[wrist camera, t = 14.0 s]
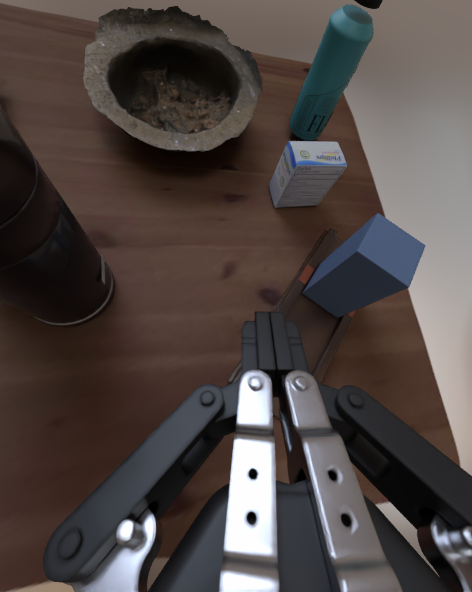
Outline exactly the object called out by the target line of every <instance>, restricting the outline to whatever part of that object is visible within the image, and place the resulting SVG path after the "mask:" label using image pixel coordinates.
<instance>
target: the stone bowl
mask: <svg viewBox="0 0 472 592" xmlns="http://www.w3.org/2000/svg"><path fill="white" fill-rule="evenodd" d="M95 38H96V40H95V41H94V42H93V43H92V44H88V45H87V47H86V49H85V61H84V63H85V70H84V75H83V81H84V84H85V88H87V90H88V94H89V97H90V98H91V99H92V101H93V105H94V107H95V108H96V110H97V111H99V112H100V113H102V114H104V115H107V116H108V118H109V119H111V120H112V121H113V122H114V123H115V124H116V125H118V126H119V127H121V128H123V129H124V130H125V131H126V132H127V133H128V134H130V135H131V136H133V137H136V138H138V139H140V140H142V141H144V142H146V143H148V144H151V145H153V146H155V147H158V148H160V149H163V150H165V151H169V152H174V153H178V152H182V151H203V152H204V151H206V150H211V149H213V148H215V147H217V146H219V145H221V144H222V143H223V142H224V141H226V140H228V139H230V138H233V137H238V136H239V135H240V134H241V133H242V132H243V130H244V129H245V128H246V126H247V125H248V123H249V122H250V121H251V119H252V117H253V115H254V109H255V107H256V105H257V101H258V95H259V94H260V93H261V92H262V78H261V76H260V72H259V71H258V68H257V63H256V61H255V59H254V58H253V57H252V55H251V52H249V51H246V52H245V51H244V50H243V49H241V48H240V47H238V46H234V45H231V43H230V42H228V38H227V35H225V34H224V32H223V31H222V30H220V29H219V28H217V27H215V26H212V25H211V24H210V22H209V21H208V20H201V18H200V15H198V16H192V15H190V14H188V13H186V12H182V11H181V9H180V8H178V6H174V7H169V8H168V9H166V10H165V11H164V10H163V9H162V10H152V9H151V8H149V9H148V10H147V11H146V12H145V11H144V9H133V8H130V7H128V8H127V9H119V10H115V9H114V10H112V11H110V12H109V13H107V14H105V15H103V16H101V17H99V29H98V30H96V31H95Z"/></svg>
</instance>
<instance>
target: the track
mask: <svg viewBox="0 0 472 592" xmlns="http://www.w3.org/2000/svg"><path fill="white" fill-rule="evenodd" d="M336 233H337V231H335V230H334V229H332V228H330V229H329V230H328V231H327V230H325V231H324V233H323V234H322V236H321V237H320V239H319V240H318V242H317V243H316V245H315V246H314V248H313V250H312V251H311V253H310V254H309V256H308V257H307V259H306V260H305V262H304V264H303V265H302V267H301V268H300V270H299V271H298V273H297V274H296V276H295V277H294V279H293V281H292V282H291V284H290V285H289V287H288V288H287V290H286V291H285V293H284V294H283V296H282V298H281V299H280V301H279V302H278V304H277V305H276V307H275V308H274V310H273V311H272V312H284V317H285V321H294V323H295V324H296V325H297V326H298V328H299V330H300V334H301V338H302V342H303V346H304V350H305V354H306V359H307V363H308V367H309V370H310V373H311V375H312V376H313V377H314V378H315V379H316V380H317V381H318V382H320V383H321V382H322V380H323V378H324V376H325V374H326V372H327V369H328V367H329V365H330V363H331V361H332V359H333V357H334V355H335V353H336V351H337V349H338V347H339V344H340V342H341V340H342V338H343V336H344V334H345V332H346V330H347V328H348V326H349V324H350V321H351V319H352V318H353V316H354V314H355V312H356V310H355V311H352V312H350V313H348V314H345V315H343V316H341V317H338V318H336V317H335V316H333V315H332V314H331V313H329V312H328V311H326V310H325V309H324V308H322V307H321V306H319V305H318V304H317V303H315V302H314V301H312V300H311V299H309V298H308V297H307V296H305V295H304V294H302V292H303V291H304V289H305V287H306V286H307V284H308V283H309V281H310V279H311V278H312V276H313V274H314V273H315V271H316V269H317V268H318V266H319V264H320V263H321V262H323V261H324V260H325V259H326V258H327V257H328V256H329V255H331V254H332V253H333V252H334V251H335V250H336V249H337V248H338V247H340V246H341V245H342V244H343V243H344V242H343V241H341V240H340V239H338V238H337V237H335V235H336ZM241 371H242V359H241V361H240V363H239V364H238V366H237V367H236V369H235V370H234V372H233V373H232V375H231V377H230V378H229V380H228V382H230V383H231V384H232V383H234V382H235V381H236V380H237V379H238V378H239V377H240V374H241ZM279 407H280V404H279V397H273V394H272V413H273V415H275V416H276V417H277V418H279V419H280V417H279Z"/></svg>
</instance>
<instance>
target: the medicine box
mask: <svg viewBox="0 0 472 592" xmlns="http://www.w3.org/2000/svg"><path fill="white" fill-rule="evenodd" d="M346 167H347V164H346V161H345V158H344V156H343V153H342V151H341V149H340V147H339V144H338V143H337V142H318V141H288V143H287V145H286V147H285V149H284V152H283V154H282V156H281V159H280V161H279V164H278V166H277V168H276V171H275V173H274V175H273V178H272V180H271V182H270V185H269V189H270V193H271V197H272V200H273V204H274V207H275V208H280V207H298V206H317V205H318V204H319V203H320V201H321V200H322V199H323V197H324V196H325V195H326V194H327V192H328V191H329V190H330V188H331V187H332V186H333V184H334V183H335V182H336V180H337V179H338V178H339V177H340V175H341V174H342V173H343V171H344V170H345V169H346Z"/></svg>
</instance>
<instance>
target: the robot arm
mask: <svg viewBox="0 0 472 592" xmlns="http://www.w3.org/2000/svg"><path fill="white" fill-rule="evenodd" d="M114 288H115V282H114V277H113V274H112V272H111V270H110V268H109V267H108V265H107V264H106V263H105V261H104V256H103V254H102V253H101V256H100V254H99V253H98V251H97V250H96V248H95V247H94V245H93V244H92V242H91V241H90V239H89V238H88V236H87V235H86V233H85V232H84V230H83V229H82V227H81V226H80V224H79V223H78V221H77V220H76V218H75V217H74V215H73V214H72V212H71V211H70V209H69V208H68V206H67V205H66V203H65V202H64V200H63V199H62V197H61V196H60V194H59V193H58V191H57V190H56V188H55V187H54V185H53V184H52V182H51V181H50V180H49V178H48V177H47V175H46V174H45V172H44V171H43V169H42V168H41V166H40V165H39V163H38V162H37V160H36V159H35V157H34V156H33V154H32V153H31V151H30V149H29V147H28V146H27V144H26V143H25V141H24V140H23V138H22V137H21V135H20V134H19V133H18V131H17V130H16V128H15V126H14V125H13V123H12V122H11V120H10V119H9V117H8V116H7V114H6V112H5V111H4V109H3V108H2V106H1V104H0V302H2V303H4V304H7V305H9V306H11V307H13V308H16V309H18V310H20V311H22V312H24V313H27V314H29V315H31V316H33V317H35V318H36V319H38V320H40V321H42V322H45V323H47V324H50V325H53V326H60V327H69V326H76V325H80V324H83V323H86V322H88V321H90V320H92V319H94V318H95V317H97V316H98V315H99V314H100V313H101V312H103V311H104V309H105V308H106V307H107V306H108V304H109V303H110V301H111V299H112V297H113V294H114ZM272 394H273V397H279V404H280V407H279V417H280V423H281V428H282V433H283V438H284V443H285V449H286V454H287V467H288V476H289V482H290V484H286V483H283V482H280V481H277V480H275V441H274V433H273V413H272ZM233 432H235V434H234V444H233V455H232V466H231V476H230V483H229V484H227V485H225V486H223V487H222V488H220V489H219V490H218V491H217V492H215V493H214V494H213V495H212V496H211V498H210V499H209V500H208V501H207V502H206V504H205V505H204V507H203V508H202V510H201V511H200V513H199V514H198V516H197V517H196V519H195V520H194V522H193V524H192V525H191V527H190V528H189V530H188V531H187V533H186V534H185V536H184V537H183V539H182V540H181V542H180V543H179V545H178V546H177V548H176V549H175V551H174V552H173V554H172V555H171V557H170V559H169V560H168V562H167V563H166V565H165V566H164V568H163V569H162V571H161V572H160V574H159V575H158V577H157V578H156V580H155V581H154V583H153V585H152V586H151V588H150V589H149V590H148V592H472V476H471V475H469V474H468V473H467V472H466V471H464V470H463V469H462V468H461V467H459V466H458V465H457V464H456V463H454V462H453V461H452V460H451V459H449V458H448V457H447V456H446V455H444V454H443V453H442V452H440V451H439V450H438V449H437V448H435V447H434V446H433V445H432V444H430V443H429V442H428V441H427V440H425V439H424V438H423V437H422V436H420V435H419V434H418V433H417V432H415V431H414V430H413V429H412V428H410V427H409V426H408V425H407V424H405V423H404V422H403V421H401V420H400V419H399V418H398V417H396V416H395V415H394V414H393V413H391V412H390V411H389V410H388V409H386V408H385V407H384V406H383V405H381V404H380V403H379V402H378V401H376V400H375V399H374V398H373V397H371V396H370V395H369V394H368V393H366V392H365V391H364V390H362V389H360V388H358V387H356V386H351V385H349V386H344V387H342V388H341V389H340V390H339V389H336V388H332V387H329V386H326V385H323V384H321V383H320V382H318V381H317V380H316V379H315V378H314V377H313V376H312V375H311V373H310V370H309V367H308V363H307V359H306V354H305V350H304V346H303V342H302V338H301V334H300V330H299V328H298V326H297V325H296V324H295V323H294V321H285V317H284V312H255V321H246V322H245V323H244V325H243V327H242V371H241V374H240V377H239V378H238V379H237V380H236V381H235V382H234V383H232V384H230V385H227V386H224V387H221V388H219V387H218V386H216V385H214V384H204V385H201V386H200V387H198V388H197V389H196V390H195V391H194V392H193V393H192V394H191V395H190V396H189V397H188V398H187V399H186V400H185V401H184V402H183V403H182V404H181V405H180V406H179V407H178V408H177V409H176V410H175V411H174V412H173V413H172V414H171V415H170V416H168V417H167V418H166V419H165V420H164V421H163V422H162V423H161V424H160V425H159V426H158V427H157V428H156V429H155V430H154V431H153V432H152V433H151V434H150V435H149V436H148V437H147V438H146V439H145V440H144V441H143V442H142V443H141V444H140V445H139V446H138V447H137V448H136V449H135V450H134V451H133V452H132V453H131V454H130V455H129V456H128V457H127V458H126V459H125V460H124V461H123V462H122V463H121V464H120V465H119V466H118V467H117V468H116V469H115V470H114V471H113V472H112V473H111V474H110V475H109V476H108V477H107V478H106V479H105V480H104V481H103V482H102V483H101V484H100V485H99V486H98V487H97V488H96V489H95V490H94V491H93V492H92V493H91V494H90V495H89V496H88V497H87V498H86V499H85V500H84V501H83V502H82V503H81V504H80V505H79V506H78V507H77V508H76V509H75V510H74V511H73V512H72V513H71V514H70V515H69V516H68V517H67V518H66V519H65V520H64V521H63V522H62V523H61V524H60V525H59V526H58V527H57V529H56V530H55V531H54V533H53V534H52V536H51V537H50V539H49V541H48V543H47V546H46V548H45V552H44V556H43V570H44V573H45V575H46V576H47V578H48V579H50V580H51V581H54V582H63V583H65V584H68V585H71V586H72V587H73V589H74V591H75V592H147V579H148V573H149V570H150V567H151V565H152V563H153V561H154V559H155V557H156V556H157V554H158V552H159V549H160V547H161V544H162V538H163V529H162V525H161V522H160V520H159V519H160V518H161V516H162V515H163V514H164V512H165V511H166V510H167V509H168V507H169V506H170V505H171V504H172V502H173V501H174V500H175V498H176V497H177V496H178V495H179V493H180V492H181V491H182V490H183V488H184V487H185V486H186V484H187V483H188V482H189V481H190V479H191V478H192V477H193V476H194V474H195V473H196V472H197V470H198V469H199V468H200V467H201V465H202V464H203V463H204V462H205V460H206V459H207V458H208V456H209V455H210V454H211V453H212V451H213V450H214V449H215V448H216V446H217V445H218V444H219V442H220V441H221V440H222V439H223V437H224V436H225V435H227V434H230V433H233ZM350 461H351V462H352V463H353V464H354V465H355V466H356V467H357V468H358V469H359V470H360V472H361V473H362V474H363V475H364V476H365V477H366V478H367V479H368V480H369V481H370V482H371V483H372V484H373V485H374V486H375V487H376V488H377V489H378V490H379V491H380V492H381V493H382V494H383V495H384V496H385V497H386V498H387V499H388V500H389V501H390V502H391V503H392V504H393V505H394V506H395V507H396V508H397V510H399V512H400V513H402V515H403V516H404V517H405V518H406V519H407V520H408V521H409V522H410V523H411V524H412V525H413V526H414V527H415V528H416V529H417V537H418V542H419V545H420V547H421V550H422V552H423V554H424V556H425V557H426V559H427V560H428V561H429V563H430V564H431V565H432V566H433V568H434V569H435V570H436V572H437V573H438V575H439V576H438V575H437V574H436V573H435V572H434V571H433V570H432V569H431V567H430V566H429V565H428V564H427V563H426V562H425V561H424V559H423V558H422V557H421V556H420V555H419V554H418V553H417V552H416V550H415V549H414V548H413V547H412V546H411V545H410V544H409V542H408V541H407V540H406V539H405V538H404V537H403V536H402V535H401V533H400V532H399V531H398V530H397V529H396V528H395V527H394V526H393V524H392V523H391V522H390V521H389V520H388V519H387V518H386V517H385V515H384V514H383V513H382V512H381V511H380V510H379V509H378V507H377V506H376V505H375V504H374V503H373V502H372V501H370V500H369V499H368V498H367V497H366V496H364V495H363V494H362V492H361V489H360V487H359V484H358V481H357V478H356V476H355V473H354V470H353V467H352V465H351V462H350ZM439 577H440V578H439Z"/></svg>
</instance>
